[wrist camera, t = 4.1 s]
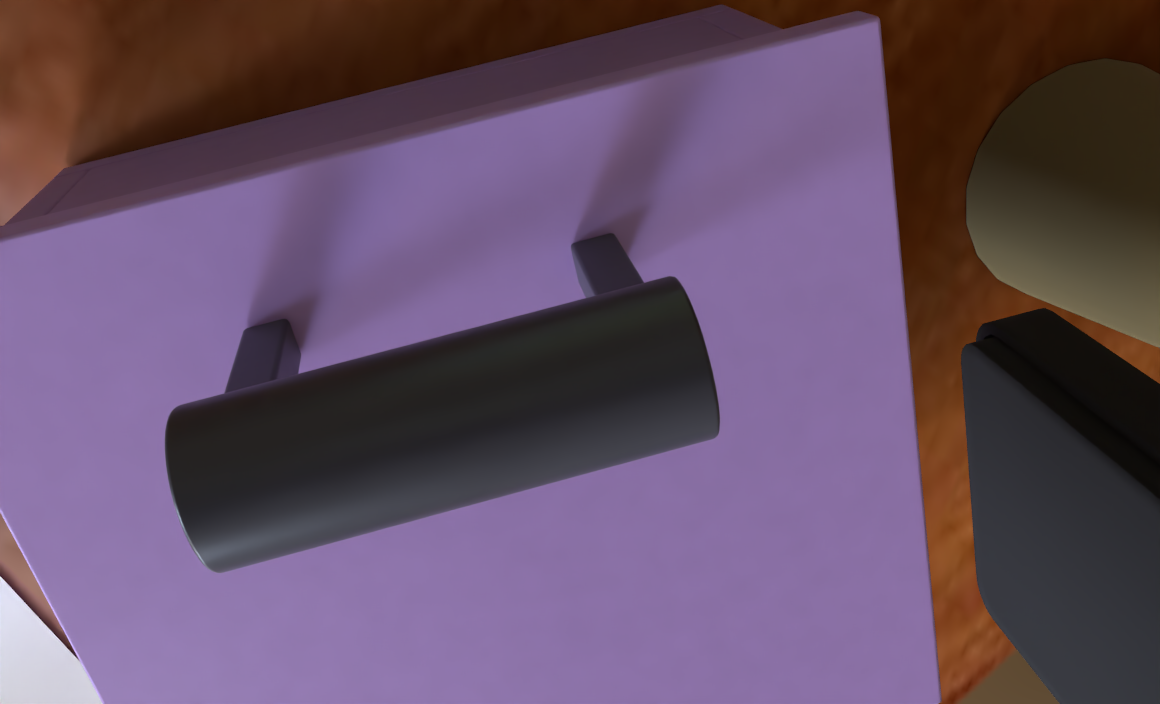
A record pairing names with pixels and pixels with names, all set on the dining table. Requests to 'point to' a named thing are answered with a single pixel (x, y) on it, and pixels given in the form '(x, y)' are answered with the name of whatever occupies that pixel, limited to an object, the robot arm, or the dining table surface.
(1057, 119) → the grey green pawn
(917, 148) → the dining table surface
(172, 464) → the lid
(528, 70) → the box
